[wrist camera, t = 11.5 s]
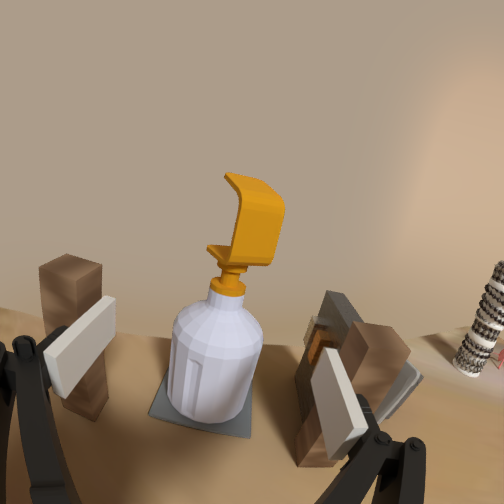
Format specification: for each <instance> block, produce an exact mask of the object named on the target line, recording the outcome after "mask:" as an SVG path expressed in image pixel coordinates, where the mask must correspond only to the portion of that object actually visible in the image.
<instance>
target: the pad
mask: <svg viewBox="0 0 504 504" xmlns="http://www.w3.org/2000/svg"><path fill="white" fill-rule="evenodd" d="M168 377H169V367H168V370H167V372H166V374H165V376H164V379H163V381H162V383H161V386H160V388H159V390H158V393H157V395H156V397H155V400H154V402H153V404H152V407H151V409H150V411H149V416H151V417H154V418H157V419H161V420H164V421H167V422H171V423H175V424H179V425H182V426H186V427H191V428H195V429H199V430H204V431H209V432H213V433H219V434H224V435H230V436H236V437H242V438H249V439H250V437H251V411H252V381H251V384H250V387H249V390H248V393H247V396H246V399H245V402H244V405H243V408H242V410H241V411H240V412H239V413H238V414H237V415H236V416H235V417H234V418H232V419H230V420H228V421H225V422H223V423H212V424H207V423H202V422H197V421H193V420H191V419H189V418H187V417H185V416H183V415H181V414H180V413H179V412H178V411H177V410H176V409H175V408H174V407H173V406H172V404H171V402H170V400H169V397H168V395H167V391H168Z"/></svg>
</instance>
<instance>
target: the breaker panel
mask: <svg viewBox="0 0 504 504" xmlns="http://www.w3.org/2000/svg"><path fill="white" fill-rule="evenodd" d="M353 321H356V322H362V323H364V322H363V320H362V319H361V317H360V316H359V315H358V313H357V312H356V310H355V309H354V307H353V306H352V305H351V303H350V302H349V300H348V299H347V298H346V296H345V295H344V294H343V293H338V292H332V291H328V290H327V291H326V294H325V297H324V300H323V303H322V305H321V308H320V311H319V314H318V317H317V316H312V317H311V320H310V322H309V325H308V328H307V331H306V334H305V337H304V339H303V340H304V344H305V348H306V349H305V351H304V354H303V357H302V359H301V362H300V364H299V367H298V369H297V371H296V374H295V382H296V388H297V394H298V399H299V405H300V411H301V417H302V423H303V424H304V422H305V420H306V419H307V417H308V415H309V413H310V411H311V409H312V408H313V406H314V404H315V398H314V394H313V389H312V385H311V381H310V380H311V378H312V376H313V374H314V372H315V370H316V367H317V365H318V363H319V361H320V359H321V356H322V354H323V352H324V350H325V348H330V349H336V350H337V352H338V354H339V352H340V350H341V348H342V346H343V343H344V341H345V339H346V336H347V334H348V332H349V329H350V327H351V324H352V322H353Z"/></svg>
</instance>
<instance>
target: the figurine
mask: <svg viewBox="0 0 504 504" xmlns="http://www.w3.org/2000/svg"><path fill="white" fill-rule="evenodd" d="M495 354H497V353H495ZM498 355H499V357H498V361H501V360H502V362H501V363H500V365H499V367H498V368H500V367H501V365H502V363H503V362H504V349H503V350H502V351H501V352H500V354H498Z"/></svg>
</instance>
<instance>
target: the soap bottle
mask: <svg viewBox="0 0 504 504" xmlns="http://www.w3.org/2000/svg"><path fill="white" fill-rule="evenodd" d="M224 178H225V179H226V180H227V182H228V183H229V184H230V185H231V186H232V187H233V189H234V190H235V191H236V192H237V195H238V197H239V208H238V214H237V219H236V223H235V228H234V232H233V237H232V241H231V246H222V245H221V246H220V245H208V246H207V251H208V252H209V253H210V254H211V255H212V256H214V257H215V258H216V259H217V260H218V263H217V265H218V267H219V268H221V269H222V274H221V277H215V278H212V280H211V283H210V287H209V292H208V298H207V300H201V301H198V302H195V303H193V304H191V305H189V306H187V307H184V308H183V309H182V310H181V312H179V313H178V315H177V317H176V319H175V320H174V325H173V333H172V343H171V353H170V364H169V377H168V391H167V395H168V397H169V400H170V402H171V404H172V406H173V407H174V408H175V409H176V410H177V411H178V412H179V413H180V414H181V415H183V416H185V417H187V418H189V419H191V420H193V421H197V422H202V423H207V424H212V423H223V422H225V421H228V420H230V419H232V418H234V417H235V416H236V415H237V414H238V413H239V412H240V411H241V410H242V408H243V405H244V402H245V399H246V396H247V393H248V390H249V387H250V384H251V381H252V377H253V374H254V371H255V368H256V365H257V361H258V358H259V355H260V352H261V348H262V344H263V332H262V329H261V326H260V324H259V323H258V321H257V320H256V319H255V318H254V317H253V316H252V315H251V314H250V313H249V312H248V311H247V310H246V309H244V308H242V304H243V300H244V295H245V289H246V286H245V284H243V283H242V282H241V281H239V276H240V273H245V272H247V268H248V266H268V265H269V264H271V262H272V260H273V258H274V253H275V250H276V246H277V242H278V238H279V234H280V230H281V226H282V222H283V218H284V213H285V205H284V202H283V200H282V198H281V196H279V195H278V194H277V193H276V192H275V191H274V190H273V189H272V188H271V187H270V186H268V185H267V184H266V183H265V182H263V181H262V180H259V179H256V178H252V177H247V176H243V175H239V174H234V173H226V174H225V176H224Z"/></svg>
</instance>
